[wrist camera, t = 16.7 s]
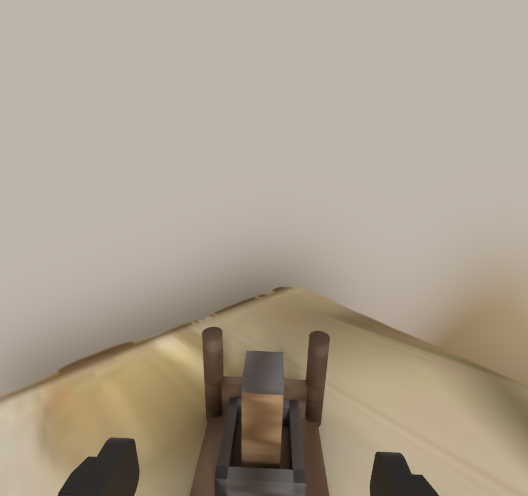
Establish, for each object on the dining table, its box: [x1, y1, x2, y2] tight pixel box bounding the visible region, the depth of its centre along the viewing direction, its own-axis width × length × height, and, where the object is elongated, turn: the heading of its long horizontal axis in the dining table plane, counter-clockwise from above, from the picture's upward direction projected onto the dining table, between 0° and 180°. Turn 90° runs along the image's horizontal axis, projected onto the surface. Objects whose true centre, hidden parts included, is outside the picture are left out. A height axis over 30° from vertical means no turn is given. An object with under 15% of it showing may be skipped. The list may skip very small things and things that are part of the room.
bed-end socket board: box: [190, 327, 330, 496], centre depth 32 cm, size 15×12×13 cm
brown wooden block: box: [242, 351, 284, 469], centre depth 31 cm, size 4×5×12 cm
